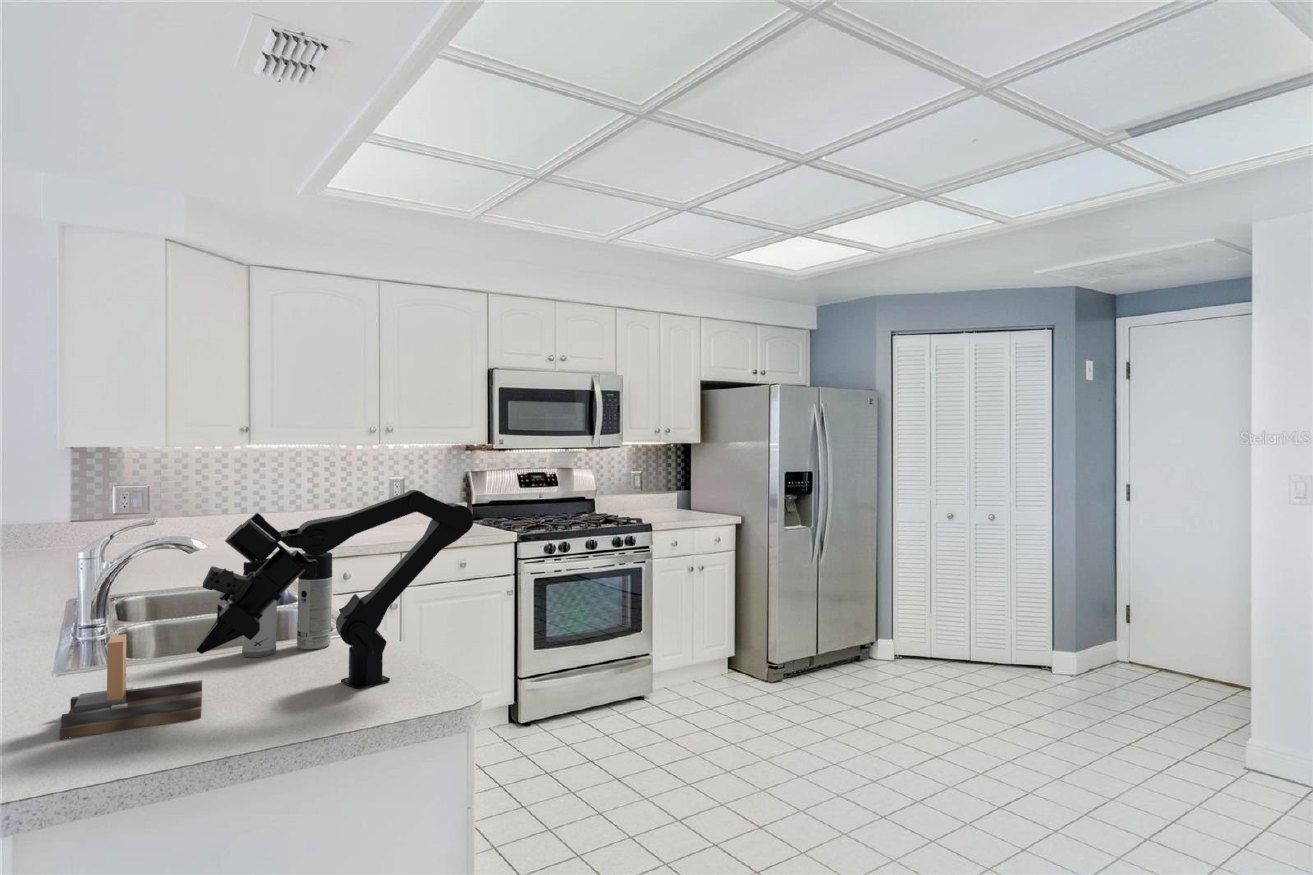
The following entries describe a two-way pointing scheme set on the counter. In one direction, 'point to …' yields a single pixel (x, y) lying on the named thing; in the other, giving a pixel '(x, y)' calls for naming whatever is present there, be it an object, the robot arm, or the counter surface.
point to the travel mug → (261, 624)
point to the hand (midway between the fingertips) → (198, 651)
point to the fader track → (137, 710)
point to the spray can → (315, 605)
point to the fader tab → (109, 679)
